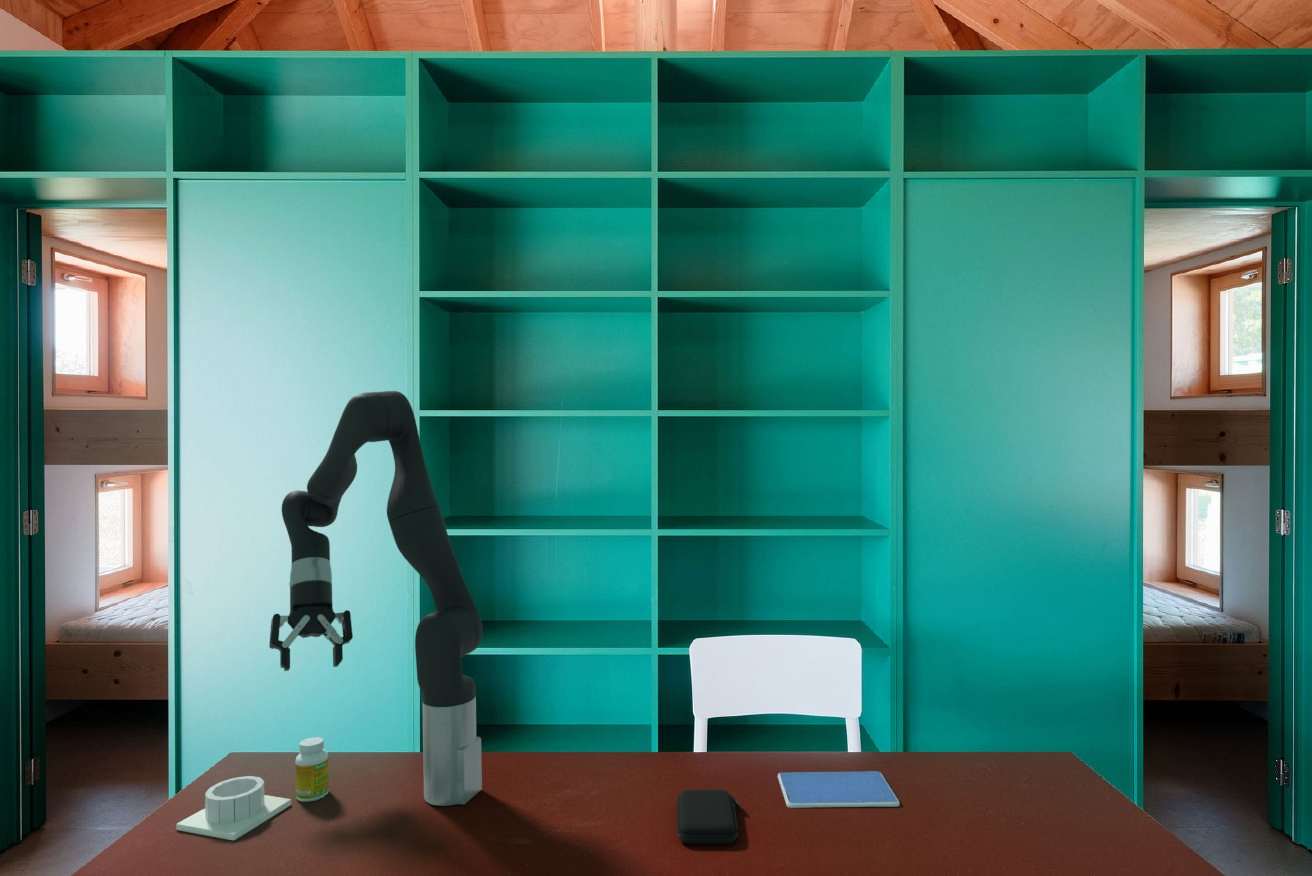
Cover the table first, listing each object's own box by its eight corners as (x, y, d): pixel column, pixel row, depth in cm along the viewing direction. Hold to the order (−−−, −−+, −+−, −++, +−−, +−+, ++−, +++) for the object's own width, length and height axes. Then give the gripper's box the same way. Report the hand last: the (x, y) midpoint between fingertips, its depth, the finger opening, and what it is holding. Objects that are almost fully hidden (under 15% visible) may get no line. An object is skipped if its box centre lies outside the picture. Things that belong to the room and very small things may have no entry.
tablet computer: (787, 811, 128) (787, 803, 128) (776, 777, 140) (776, 770, 140) (901, 810, 128) (901, 803, 128) (880, 777, 140) (880, 769, 140)
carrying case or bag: (746, 850, 116) (738, 803, 131) (745, 830, 116) (738, 785, 130) (676, 849, 116) (677, 803, 131) (676, 830, 116) (677, 785, 131)
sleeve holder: (291, 805, 131) (290, 776, 131) (233, 840, 120) (233, 809, 120) (237, 796, 135) (236, 768, 135) (176, 829, 123) (176, 799, 123)
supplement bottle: (316, 803, 132) (315, 748, 132) (289, 801, 133) (288, 746, 133) (335, 789, 137) (334, 736, 137) (309, 787, 138) (308, 734, 138)
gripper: (273, 579, 141) (273, 666, 134) (353, 577, 149) (356, 659, 142) (268, 593, 147) (266, 677, 139) (345, 590, 154) (347, 669, 147)
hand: (312, 667), depth 141 cm, fingers open, 8 cm apart
